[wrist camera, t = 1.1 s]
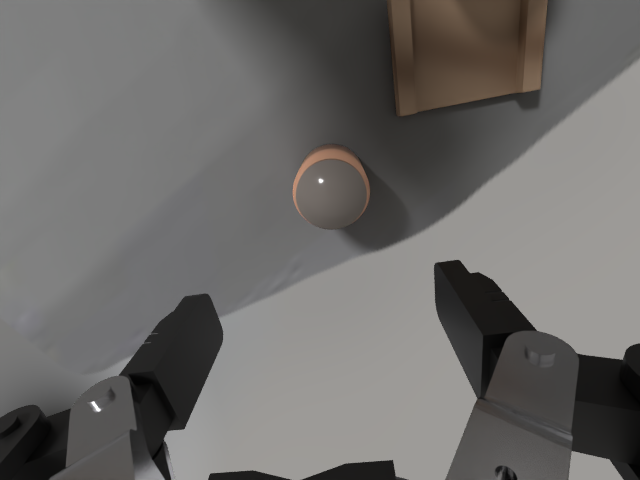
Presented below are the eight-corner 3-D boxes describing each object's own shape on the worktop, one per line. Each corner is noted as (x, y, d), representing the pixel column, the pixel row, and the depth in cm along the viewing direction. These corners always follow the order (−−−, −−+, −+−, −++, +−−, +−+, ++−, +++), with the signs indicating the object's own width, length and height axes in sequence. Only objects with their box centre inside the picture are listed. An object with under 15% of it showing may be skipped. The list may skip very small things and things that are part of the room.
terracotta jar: (293, 150, 27) (283, 164, 21) (358, 138, 26) (365, 149, 21) (306, 212, 29) (300, 238, 24) (367, 201, 28) (375, 226, 23)
